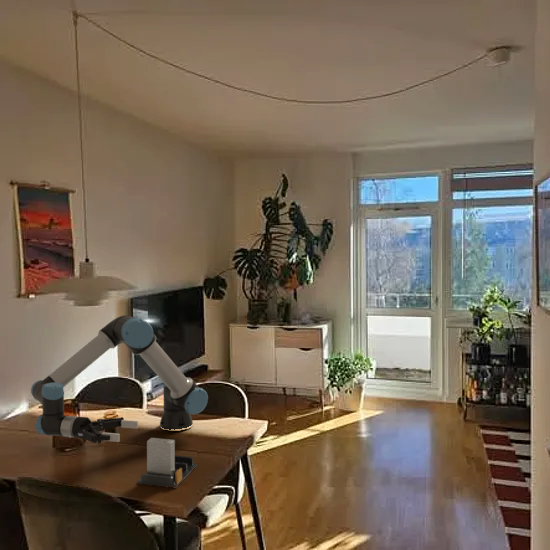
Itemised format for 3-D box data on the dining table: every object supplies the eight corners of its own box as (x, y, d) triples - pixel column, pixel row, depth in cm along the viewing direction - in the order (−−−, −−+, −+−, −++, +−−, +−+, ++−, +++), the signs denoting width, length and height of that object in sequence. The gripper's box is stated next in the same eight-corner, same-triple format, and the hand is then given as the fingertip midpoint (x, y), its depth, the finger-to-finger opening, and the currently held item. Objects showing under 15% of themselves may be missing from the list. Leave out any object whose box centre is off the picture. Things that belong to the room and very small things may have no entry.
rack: (160, 462, 205) (160, 450, 204) (196, 466, 201) (197, 453, 201) (137, 483, 186) (137, 469, 186) (176, 488, 183) (176, 474, 182)
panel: (151, 475, 190) (151, 437, 190) (174, 478, 188) (174, 440, 188) (147, 479, 187) (147, 441, 186) (170, 482, 185) (170, 443, 184)
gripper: (95, 425, 209) (144, 429, 204) (56, 449, 185) (111, 454, 180) (94, 407, 208) (144, 410, 204) (55, 428, 184) (110, 433, 179)
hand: (128, 431), depth 192 cm, fingers open, 13 cm apart
